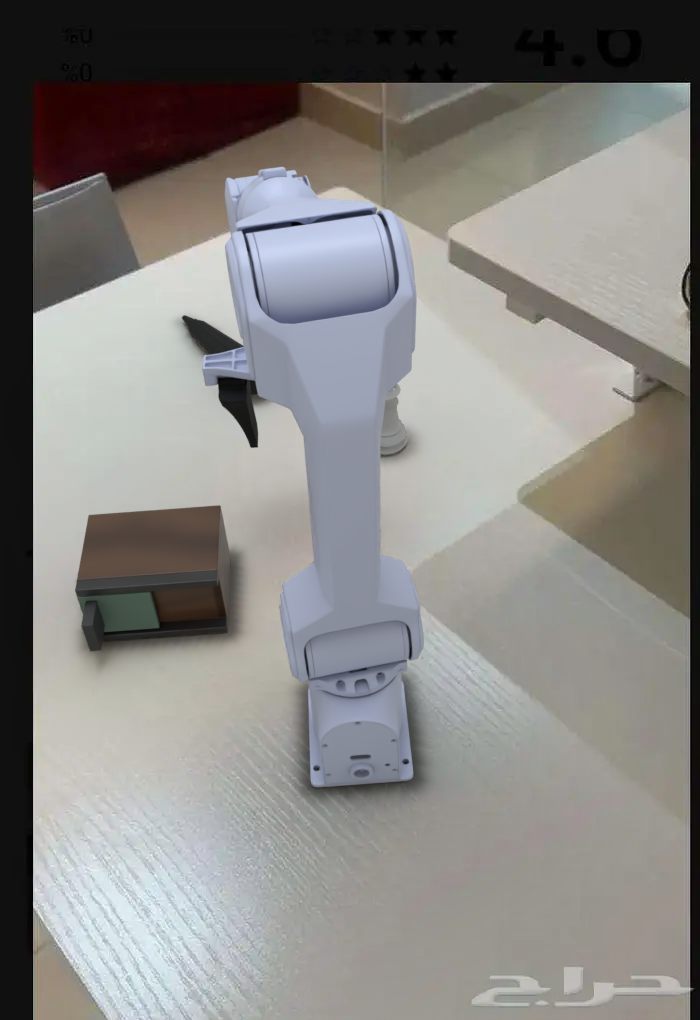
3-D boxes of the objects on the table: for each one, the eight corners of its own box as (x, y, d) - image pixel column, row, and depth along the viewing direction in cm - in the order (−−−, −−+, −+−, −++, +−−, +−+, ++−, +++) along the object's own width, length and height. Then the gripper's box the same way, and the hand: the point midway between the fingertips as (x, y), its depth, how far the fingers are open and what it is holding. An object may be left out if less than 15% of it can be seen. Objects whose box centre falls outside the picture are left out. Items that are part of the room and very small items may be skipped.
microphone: (177, 348, 131) (255, 413, 117) (154, 313, 127) (231, 376, 113) (212, 321, 132) (292, 383, 117) (190, 286, 127) (271, 345, 113)
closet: (227, 633, 94) (216, 580, 89) (92, 642, 94) (74, 590, 89) (230, 557, 100) (220, 504, 96) (104, 567, 100) (88, 514, 95)
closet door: (157, 653, 91) (146, 617, 88) (85, 658, 91) (72, 622, 88) (160, 623, 94) (150, 587, 90) (90, 628, 94) (77, 592, 90)
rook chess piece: (358, 436, 112) (355, 375, 107) (397, 425, 113) (396, 364, 108) (374, 461, 109) (371, 400, 104) (414, 450, 110) (413, 389, 105)
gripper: (366, 280, 91) (372, 405, 100) (197, 292, 91) (219, 415, 100) (371, 327, 86) (376, 454, 95) (192, 339, 86) (215, 465, 95)
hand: (296, 438), depth 97 cm, fingers open, 7 cm apart
